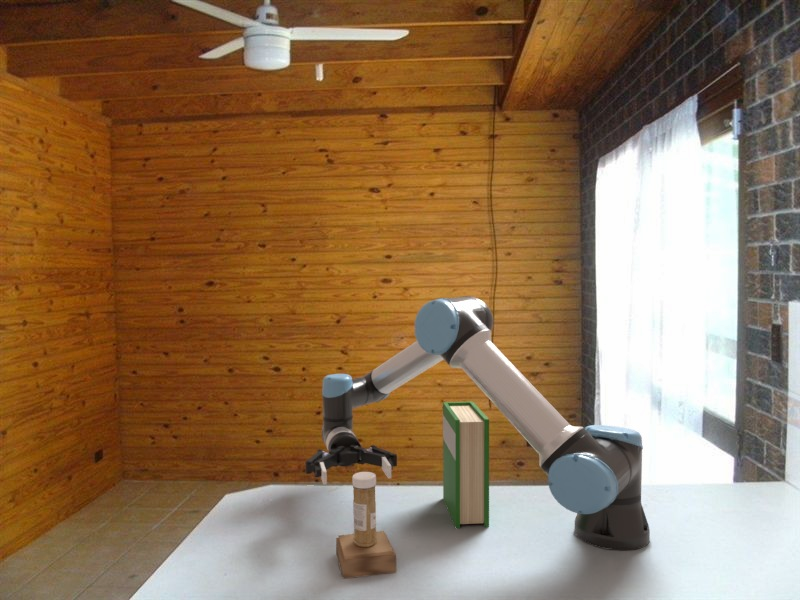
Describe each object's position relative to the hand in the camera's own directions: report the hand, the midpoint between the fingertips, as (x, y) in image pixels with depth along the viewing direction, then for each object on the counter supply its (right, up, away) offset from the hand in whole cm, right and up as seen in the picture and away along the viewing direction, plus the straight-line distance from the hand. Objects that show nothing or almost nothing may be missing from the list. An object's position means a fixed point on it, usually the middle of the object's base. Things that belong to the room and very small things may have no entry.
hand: (357, 475), depth 132 cm
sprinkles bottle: (+2, -11, -9) cm, 14 cm away
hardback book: (+24, -13, +16) cm, 32 cm away
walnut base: (+2, -15, -9) cm, 17 cm away
